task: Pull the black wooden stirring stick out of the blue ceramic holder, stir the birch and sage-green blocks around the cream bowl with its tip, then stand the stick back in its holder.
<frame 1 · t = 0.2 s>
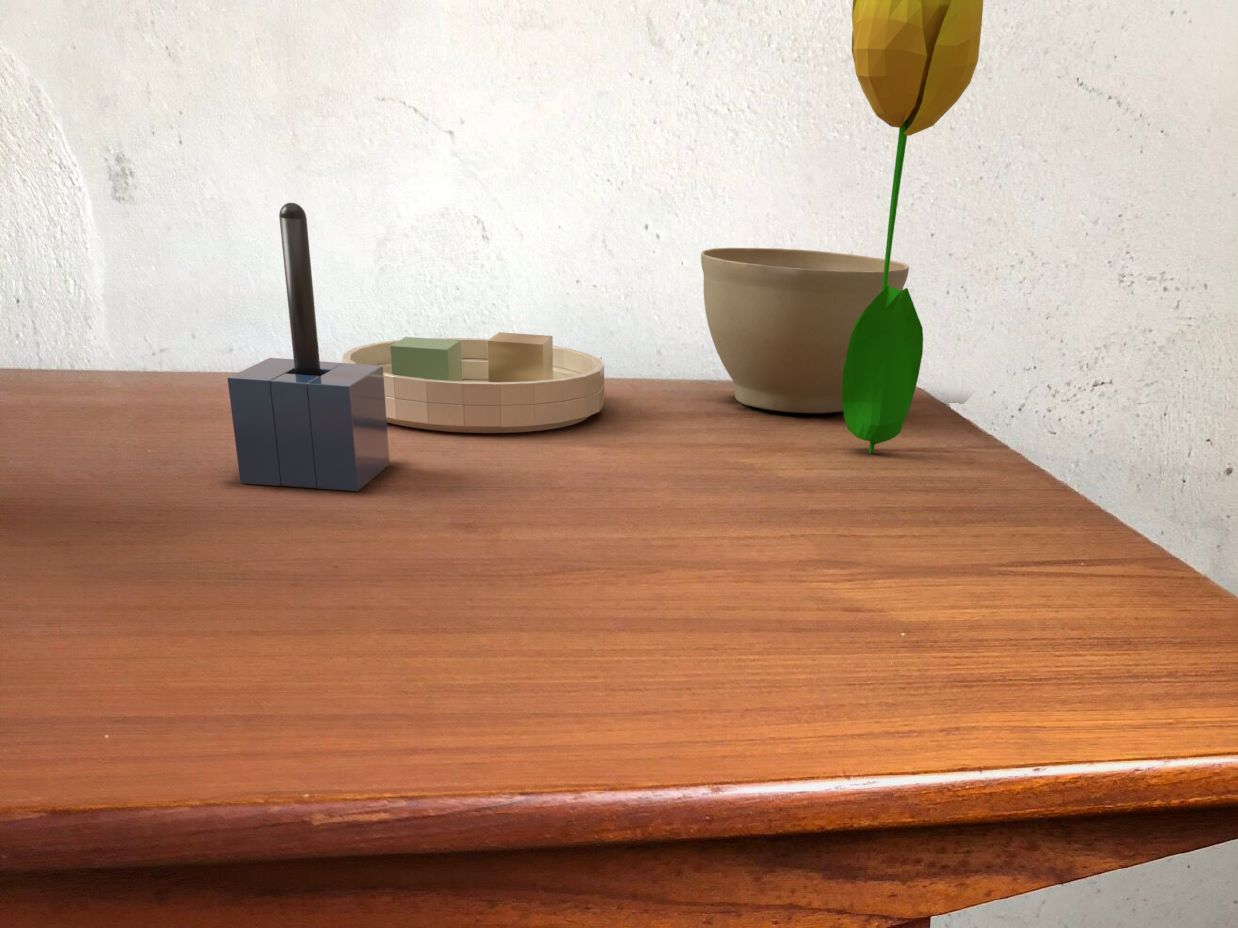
stick holder: (317, 473, 88), on the table
sage block: (429, 403, 105), point 1 cm above the table, touching cream bowl
cream bowl: (476, 408, 108), on the table
birch block: (521, 396, 109), point 1 cm above the table, touching cream bowl
flower: (870, 456, 102), on the table
planter bowl: (793, 407, 115), on the table
stirring stick: (305, 344, 84), in the stick holder
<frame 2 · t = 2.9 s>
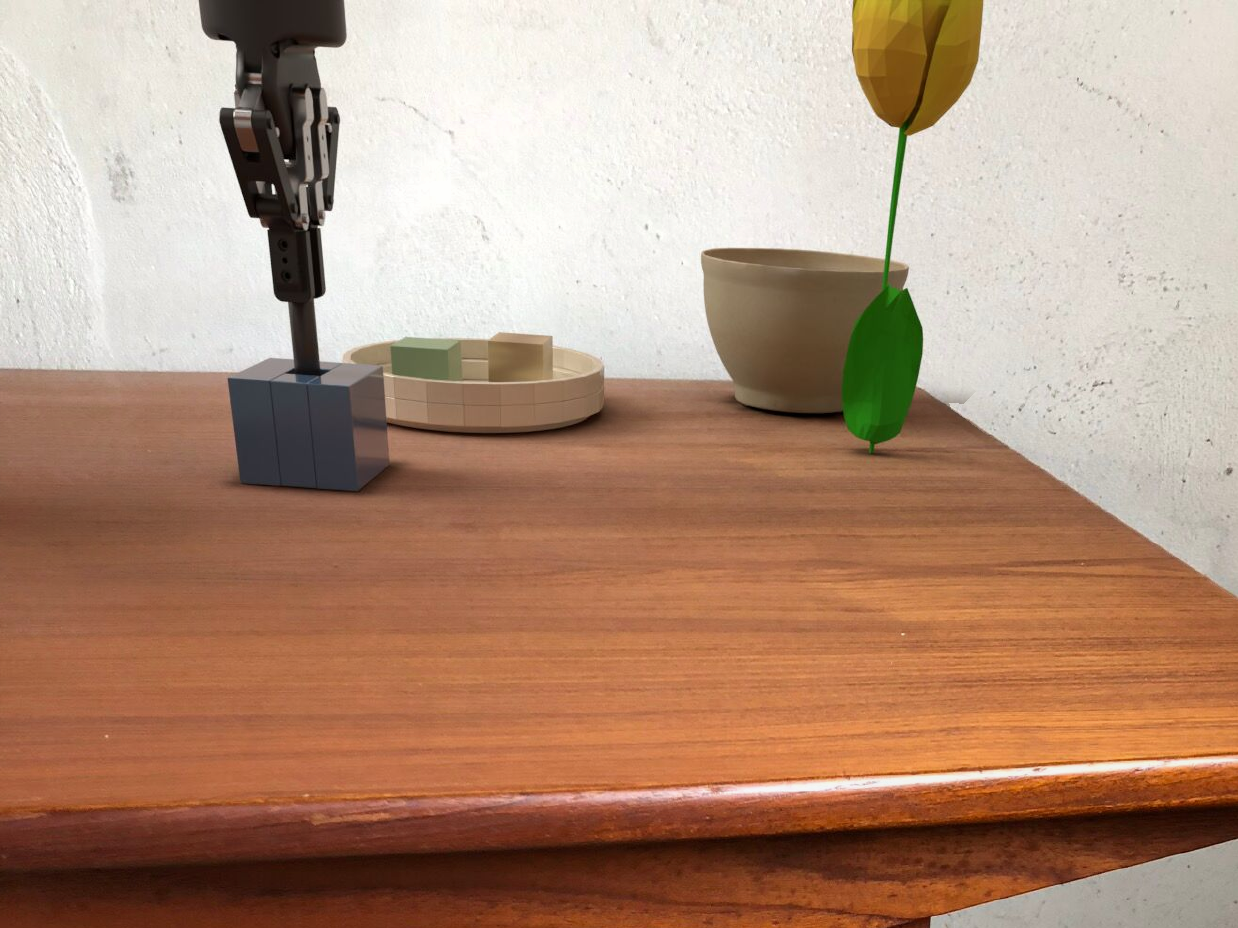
hand: (300, 298, 83), 10 cm above the table, tool pointing down, fingers closed on stirring stick, 1 cm apart
stirring stick: (305, 344, 84), in the stick holder, touching gripper
everything else where it was.
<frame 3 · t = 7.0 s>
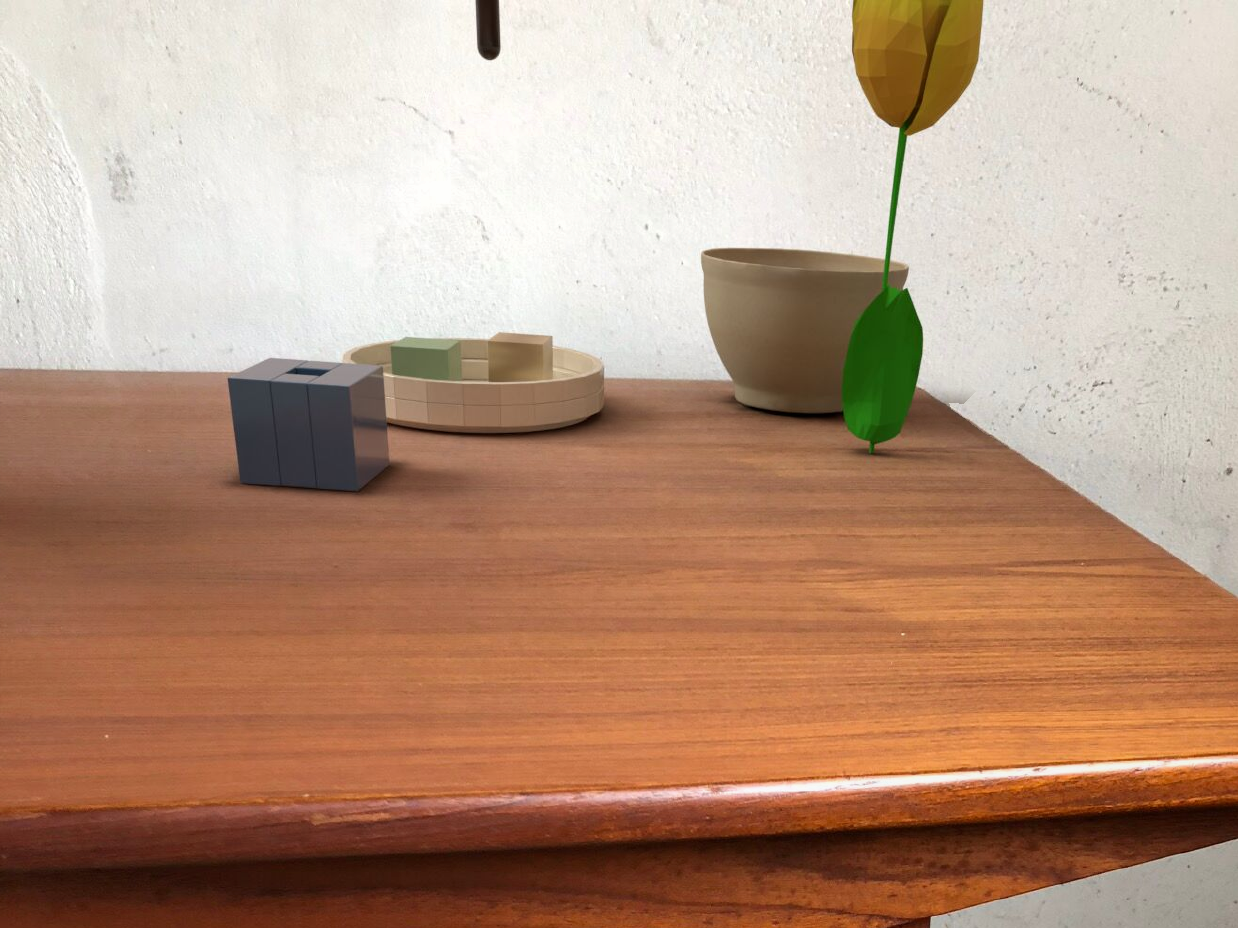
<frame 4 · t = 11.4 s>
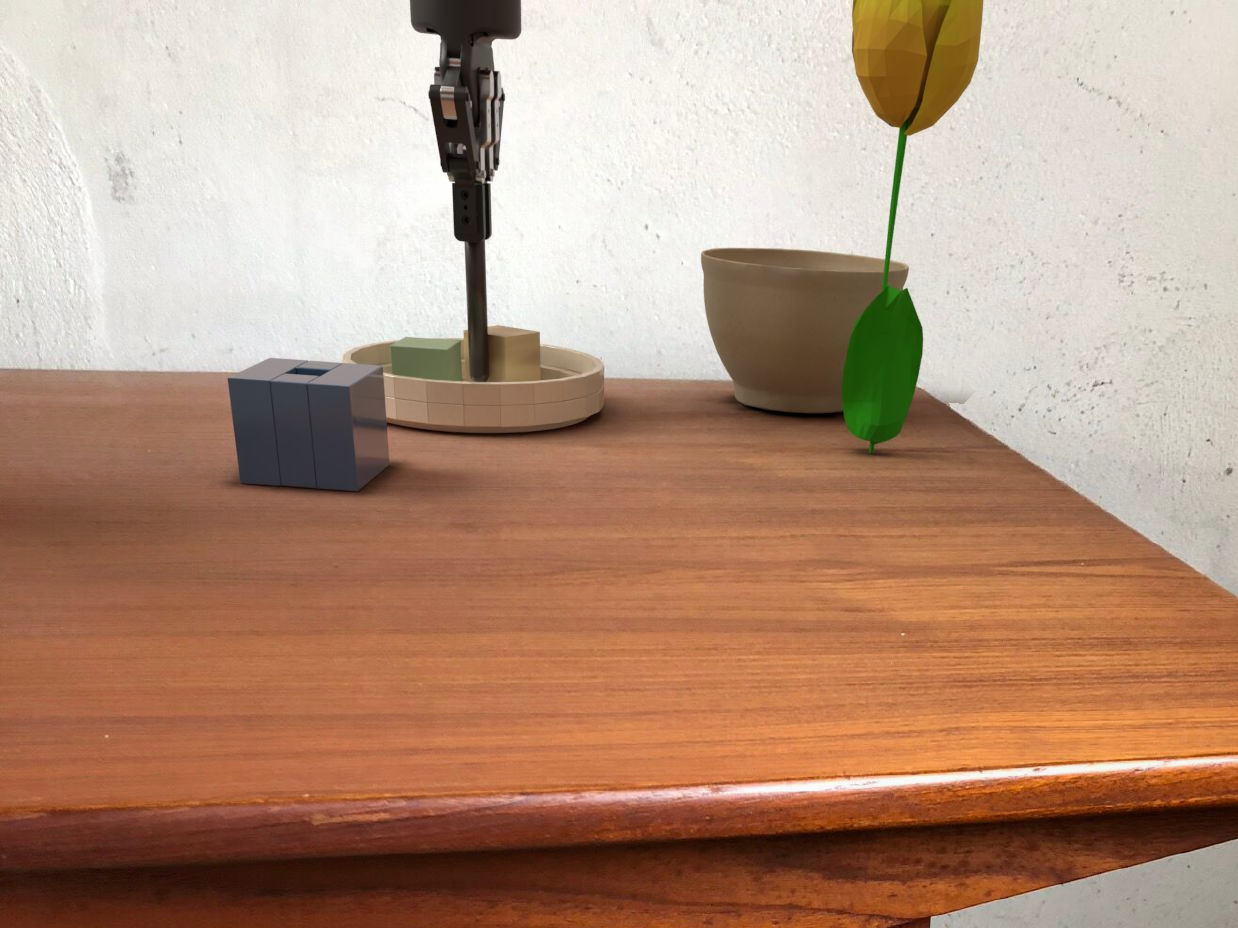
hand: (473, 239, 104), 11 cm above the table, tool pointing down, fingers closed on stirring stick, 1 cm apart
birch block: (503, 388, 112), point 1 cm above the table, touching cream bowl
stirring stick: (475, 277, 105), in the cream bowl, point 9 cm above the table, touching gripper
everything else where it was.
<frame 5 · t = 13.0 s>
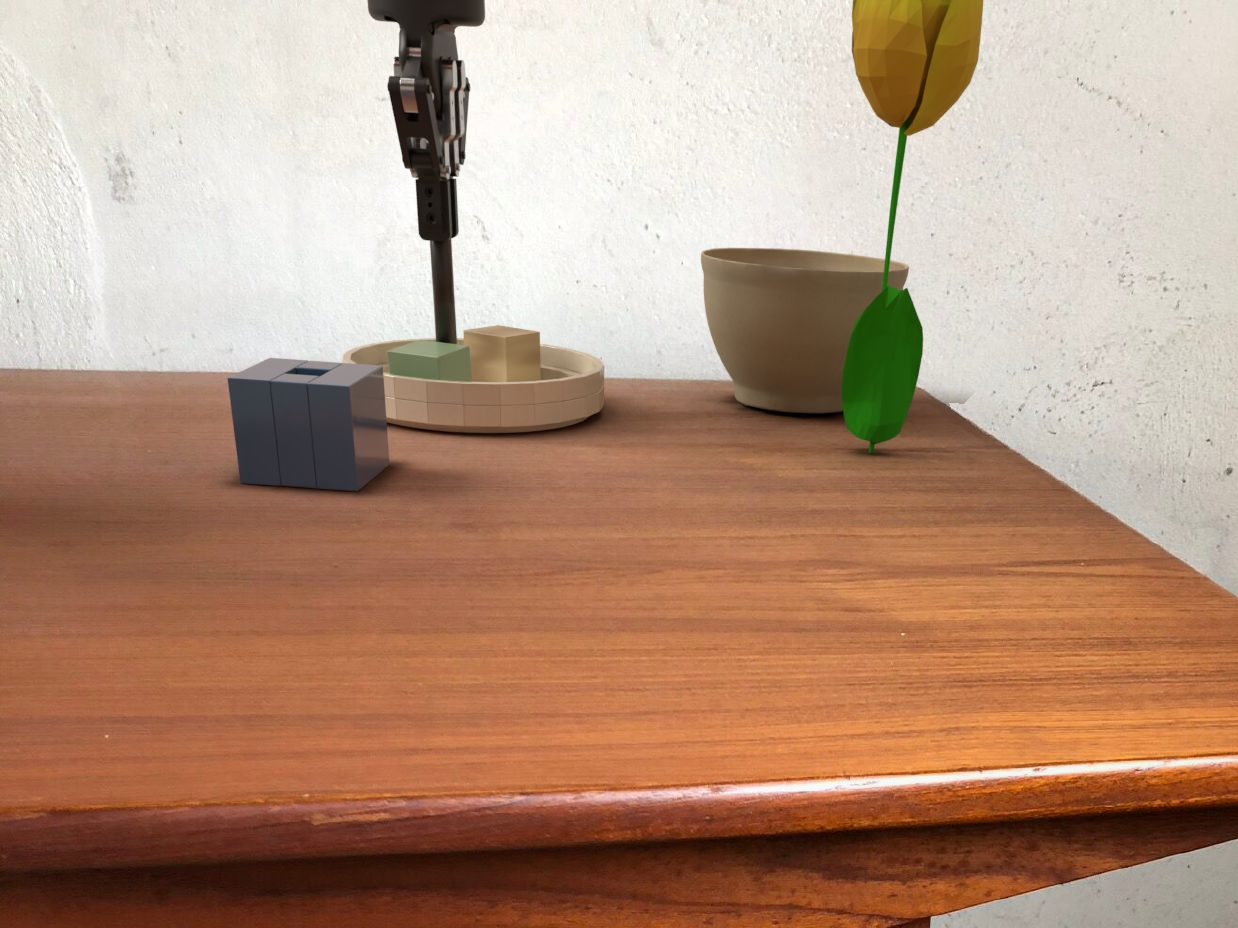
hand: (439, 237, 99), 12 cm above the table, tool pointing down, fingers closed on stirring stick, 1 cm apart
sage block: (434, 409, 103), point 1 cm above the table, touching cream bowl, stirring stick
stirring stick: (442, 277, 101), in the cream bowl, point 9 cm above the table, touching gripper, sage block
everything else where it was.
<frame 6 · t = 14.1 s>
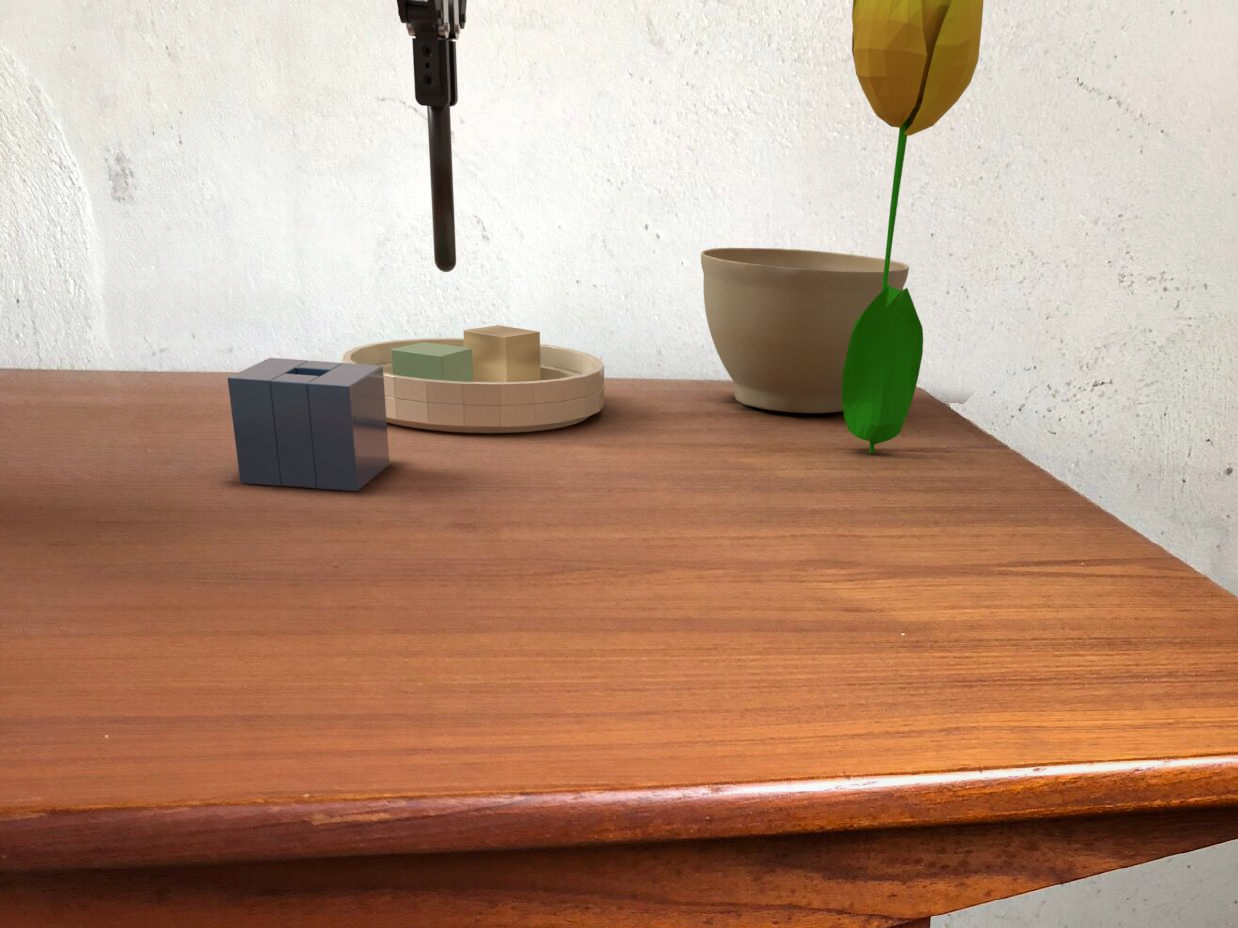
hand: (436, 104, 94), 20 cm above the table, tool pointing down, fingers closed on stirring stick, 1 cm apart
sage block: (435, 410, 103), point 1 cm above the table, touching cream bowl
stirring stick: (440, 149, 95), point 17 cm above the table, touching gripper
everything else where it was.
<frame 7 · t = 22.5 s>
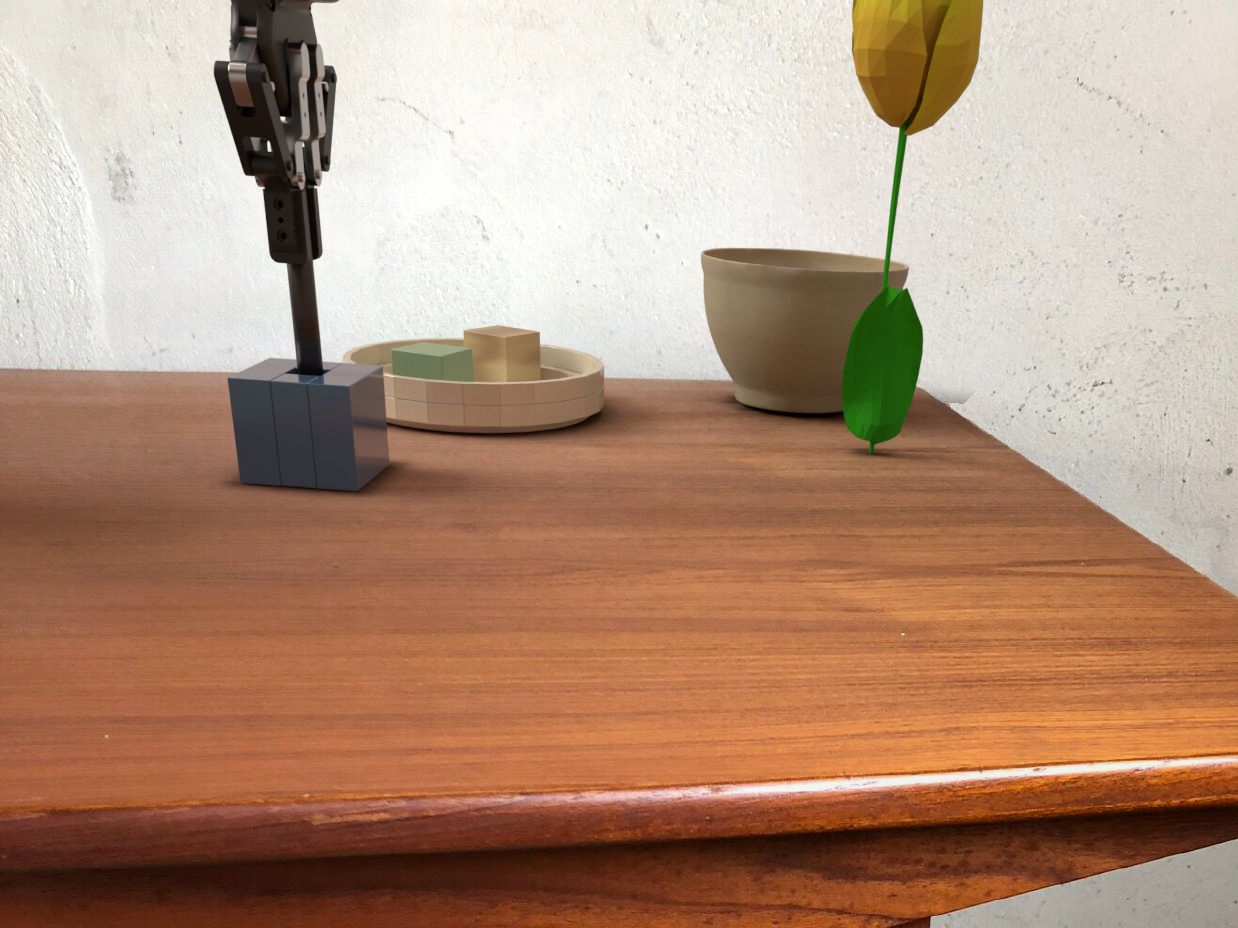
hand: (297, 259, 82), 12 cm above the table, tool pointing down, fingers closed on stirring stick, 1 cm apart
stirring stick: (304, 307, 83), in the stick holder, point 10 cm above the table, touching gripper
everything else where it was.
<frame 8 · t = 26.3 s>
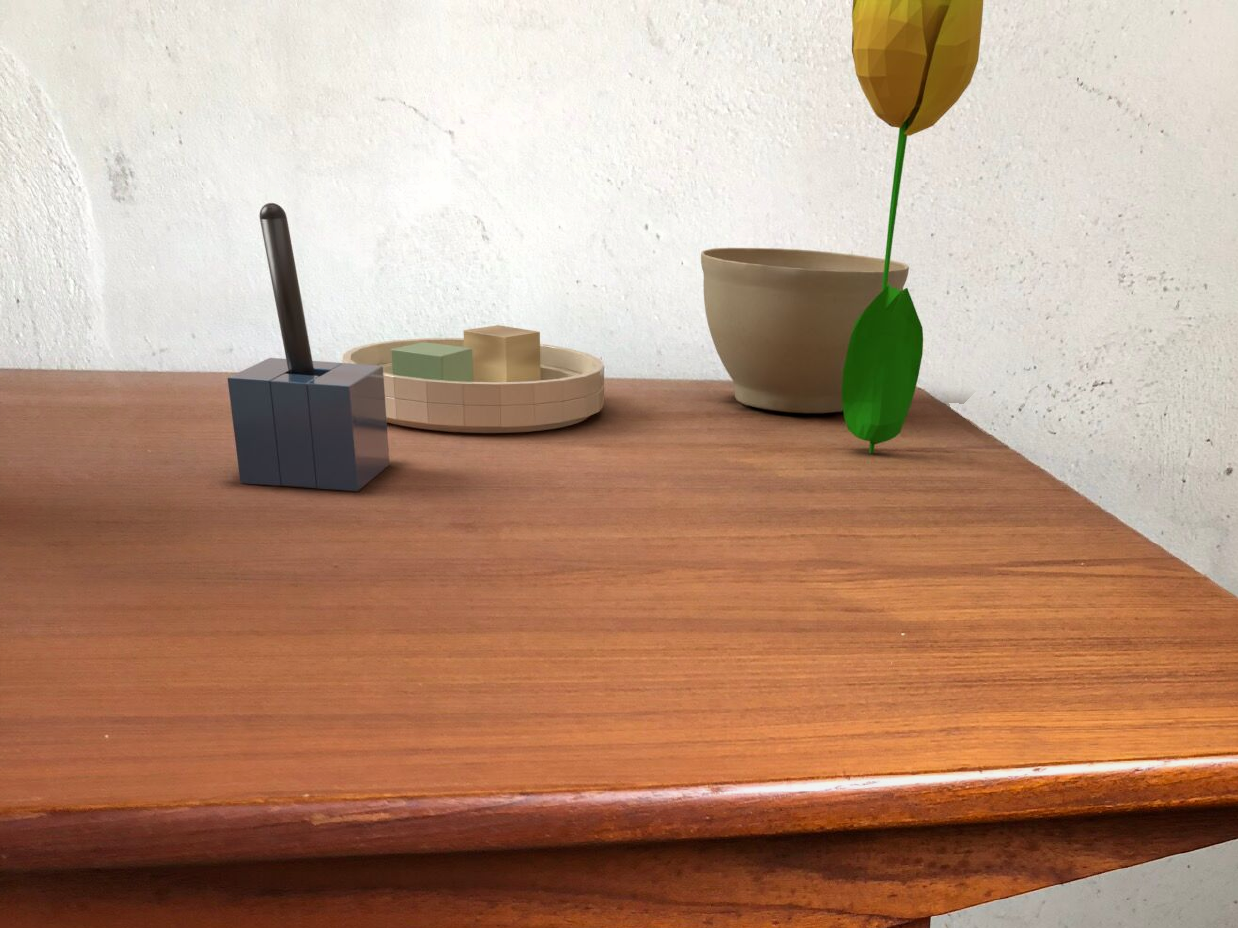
stirring stick: (296, 345, 84), in the stick holder, tilted 5°
everything else where it was.
at the end: birch block moved 3.4 cm from its start; birch block inside the target area in the cream bowl (5.4 cm from its centre), point 0.6 cm above the cream bowl's base; sage block inside the target area in the cream bowl (5.2 cm from its centre), point 0.6 cm above the cream bowl's base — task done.
